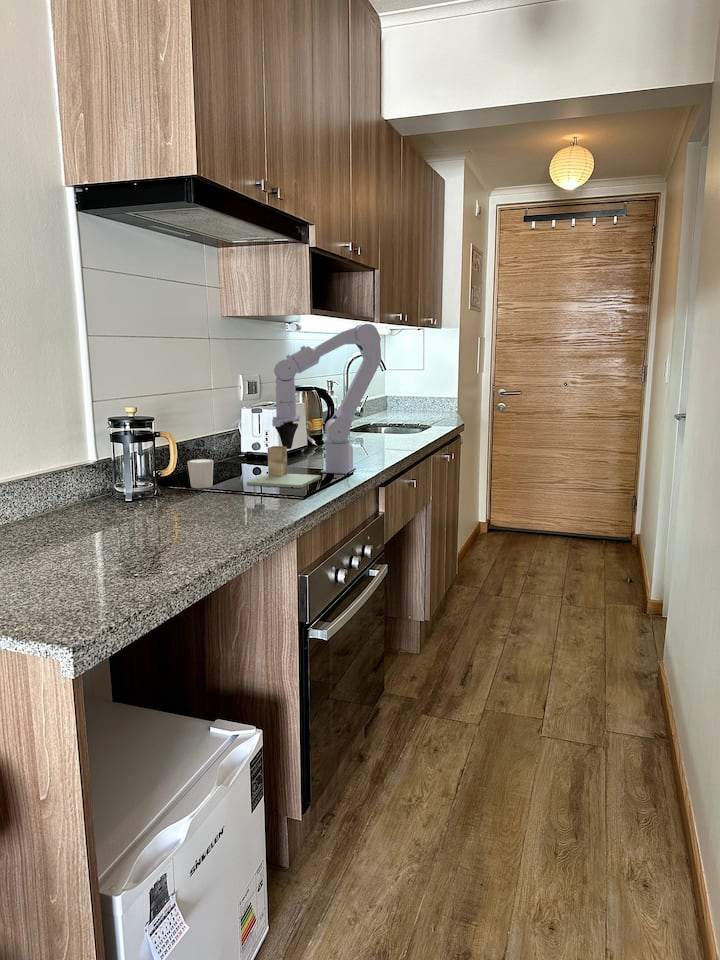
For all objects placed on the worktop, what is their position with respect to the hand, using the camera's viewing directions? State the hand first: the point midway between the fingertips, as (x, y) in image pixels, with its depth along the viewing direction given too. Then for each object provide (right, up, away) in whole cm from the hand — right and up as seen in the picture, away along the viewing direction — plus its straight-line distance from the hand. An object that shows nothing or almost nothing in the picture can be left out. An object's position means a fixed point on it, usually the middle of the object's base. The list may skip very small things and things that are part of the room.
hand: (287, 448), depth 197 cm
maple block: (-2, -8, -5) cm, 9 cm away
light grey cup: (-22, -11, -15) cm, 29 cm away
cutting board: (0, -10, -10) cm, 14 cm away
